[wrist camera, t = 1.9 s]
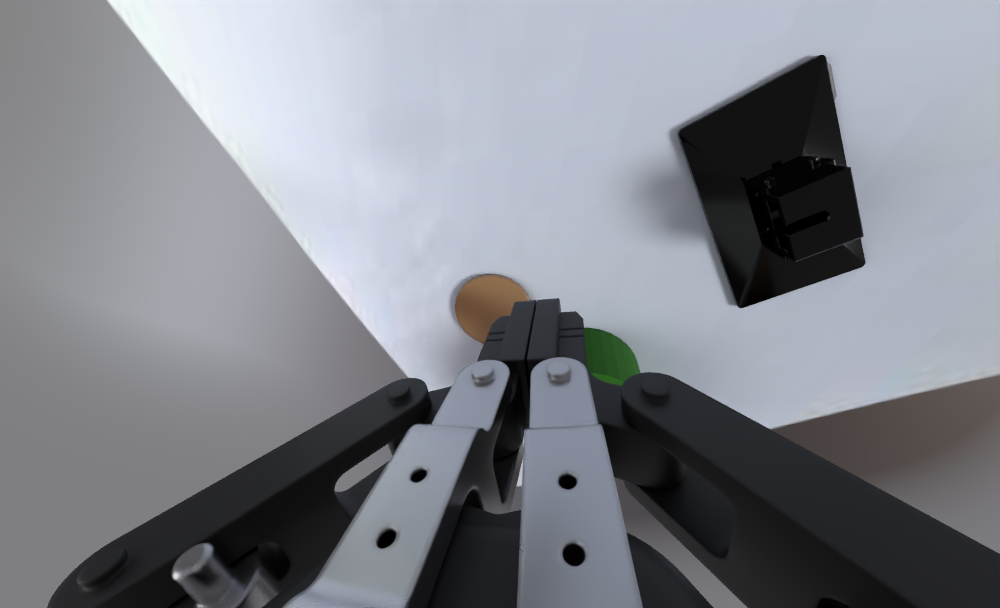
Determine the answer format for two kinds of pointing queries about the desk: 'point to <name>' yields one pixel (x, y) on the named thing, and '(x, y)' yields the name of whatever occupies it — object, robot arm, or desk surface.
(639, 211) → the desk surface
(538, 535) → the robot arm
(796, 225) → the build plate
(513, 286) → the coaster
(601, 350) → the candle
